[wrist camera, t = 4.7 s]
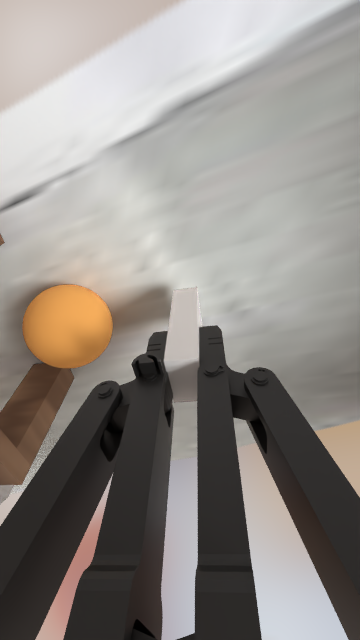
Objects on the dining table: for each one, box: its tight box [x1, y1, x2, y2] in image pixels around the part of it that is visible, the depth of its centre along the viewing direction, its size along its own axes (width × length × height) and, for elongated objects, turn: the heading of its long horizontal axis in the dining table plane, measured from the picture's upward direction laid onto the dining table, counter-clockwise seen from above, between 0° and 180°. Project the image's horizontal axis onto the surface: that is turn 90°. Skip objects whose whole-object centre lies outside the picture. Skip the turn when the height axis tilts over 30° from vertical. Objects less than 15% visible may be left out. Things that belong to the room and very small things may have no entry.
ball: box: [22, 285, 113, 368], centre depth 19 cm, size 6×6×6 cm
